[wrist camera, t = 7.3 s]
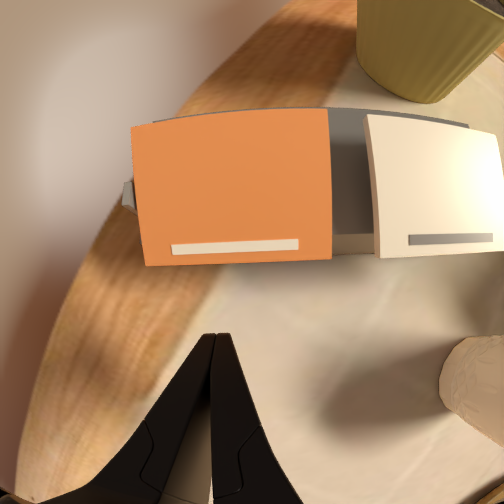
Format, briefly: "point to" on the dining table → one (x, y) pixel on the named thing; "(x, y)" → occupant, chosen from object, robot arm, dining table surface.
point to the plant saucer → (493, 495)
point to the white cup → (476, 384)
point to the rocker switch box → (338, 177)
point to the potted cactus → (426, 43)
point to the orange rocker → (234, 187)
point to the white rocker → (433, 188)
